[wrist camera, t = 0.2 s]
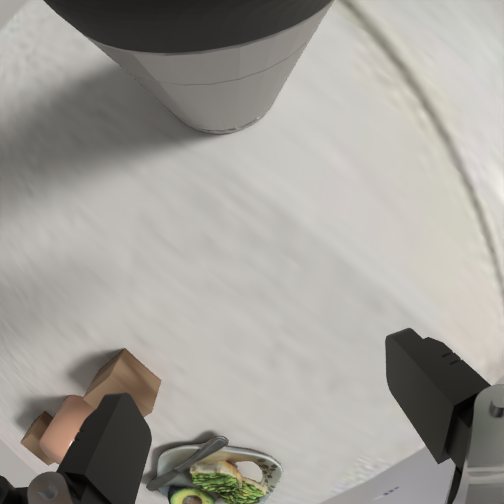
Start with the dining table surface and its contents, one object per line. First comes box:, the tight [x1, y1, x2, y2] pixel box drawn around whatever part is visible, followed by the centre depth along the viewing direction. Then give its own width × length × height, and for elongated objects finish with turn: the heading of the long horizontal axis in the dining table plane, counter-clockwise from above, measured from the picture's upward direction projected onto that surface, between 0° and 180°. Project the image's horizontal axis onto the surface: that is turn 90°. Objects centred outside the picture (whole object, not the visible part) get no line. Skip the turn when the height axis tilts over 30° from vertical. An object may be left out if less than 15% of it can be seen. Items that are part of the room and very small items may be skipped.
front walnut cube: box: [83, 348, 161, 417], centre depth 26 cm, size 5×5×5 cm
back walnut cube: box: [20, 411, 54, 466], centre depth 28 cm, size 5×5×5 cm
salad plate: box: [146, 436, 283, 504], centre depth 31 cm, size 19×18×5 cm
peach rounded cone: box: [39, 395, 95, 465], centre depth 26 cm, size 5×5×8 cm
